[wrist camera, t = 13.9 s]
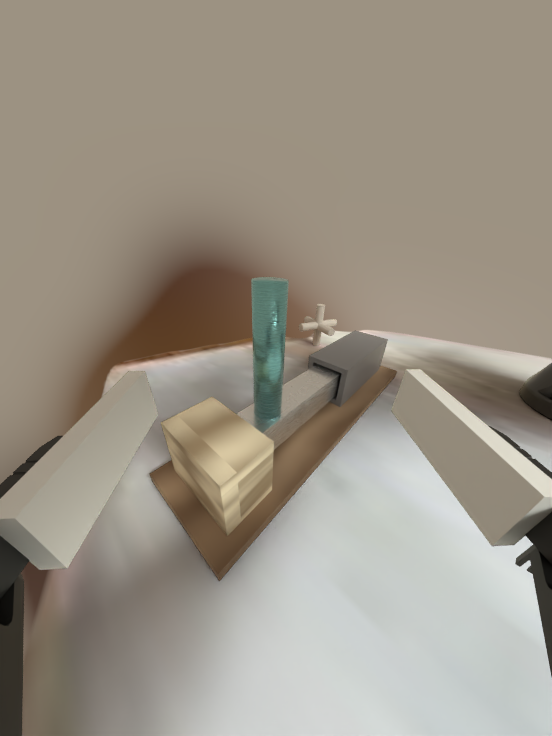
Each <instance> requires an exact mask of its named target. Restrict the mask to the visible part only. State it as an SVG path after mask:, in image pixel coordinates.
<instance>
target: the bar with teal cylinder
mask: <svg viewBox="0 0 552 736" xmlns="http://www.w3.org/2000/svg"><path fill="white" fill-rule="evenodd" d="M287 299H288V280H287V279H282V278H274V277H273V278H272V277H260V278H253V279H252V328H253V376H254V403H253V404H251V405H250V406H248V407H246V408H245V409H243V410H242V411H240V412H238V413H237V415H238V416H239V417H241V418H242V419H244V420H245V421H246V422H248V423H249V424H250V425H252V426H253V427H255V428H256V429H257V430H259V431H260V432H261V433H263V434H264V435H266V436H267V437H268V438H270V439H271V440H272V441H274V450H275V449H276V448H277V447H278V446H279V445H280V444H281V443H283V442H284V441H285V440H286V439H287V438H288V437H289V436H291V435H292V434H293V433H294V432H295V431H296V430H297V429H299V428H300V427H301V426H302V425H303V424H304V423H305V422H307V421H308V420H309V419H310V418H311V417H312V416H313V415H315V414H316V413H317V412H318V411H319V410H320V409H322V408H323V407H324V406H325V405H326V404H327V403H328V402H330V401H331V400H332V399H333V398H334V397H335V396H336V395H337V394H338V389H339V384H340V379H341V375H342V373H339V372H337V371H334V370H332V369H329V368H327V367H324V366H322V365H319V364H316V365H315V366H313V367H311V368H310V369H308V370H307V371H305V372H303V373H302V374H300V375H298V376H297V377H295V378H294V379H292V380H290V381H289V382H287V383H285V384H284V385H283V370H284V352H285V333H286V315H287Z"/></svg>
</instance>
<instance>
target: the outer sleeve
mask: <svg viewBox="0 0 552 736" xmlns="http://www.w3.org/2000/svg"><path fill="white" fill-rule="evenodd" d="M387 341H388V339H384V338H380V337H377V336H373V335H369V334H366V333H362V332H358V331H353V332H352V333H350V334H348V335H346V336H344V337H343V338H341V339H339V340H337V341H335V342H333V343H332V344H330V345H328V346H326V347H324V348H323V349H321V350H319V351H317V352H315V353H313V354H312V355H310V356H309V363H308V369H310V368H311V367H313V366H315V365H316V364H319V365H322V366H324V367H327V368H329V369H332V370H334V371H337V372H339V373H342V375H341V379H340V384H339V389H338V394H337V395H336V396H335V397H334V398H333V399H332V400H331V401H330V402H331V403H333V404H335V405H337V406H339V407H341V406H342V405H343V404H344V403H345V402H346V401H347V400H348V399H349V398H350V397H351V396H352V395H353V394H354V393H355V392H356V391H357V390H358V389H359V388H360V387H361V386H363V385H364V384H365V383H366V382H367V381H368V380H369V379H370V378H371V377H372V376H373V375H374V374H375V373H376V372H377V371H378V370H379V368H380V364H381V361H382V358H383V354H384V351H385V348H386V344H387Z"/></svg>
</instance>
